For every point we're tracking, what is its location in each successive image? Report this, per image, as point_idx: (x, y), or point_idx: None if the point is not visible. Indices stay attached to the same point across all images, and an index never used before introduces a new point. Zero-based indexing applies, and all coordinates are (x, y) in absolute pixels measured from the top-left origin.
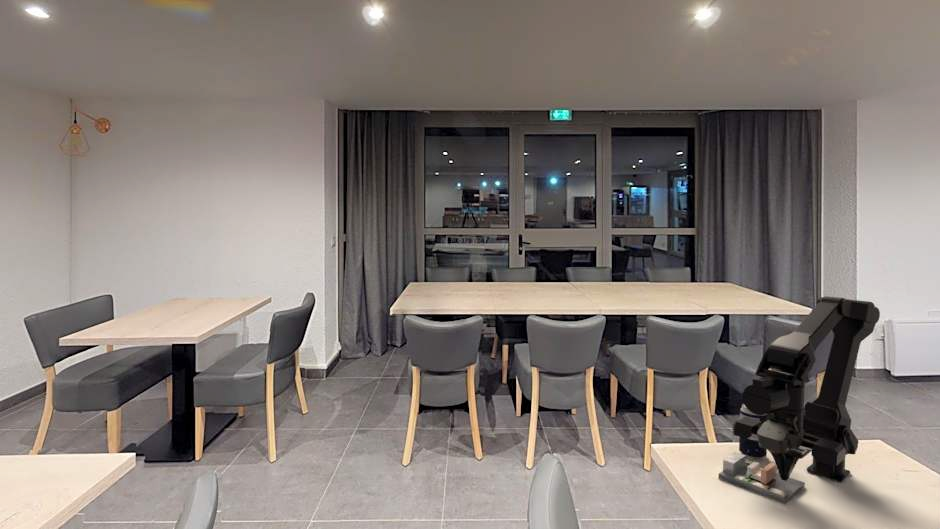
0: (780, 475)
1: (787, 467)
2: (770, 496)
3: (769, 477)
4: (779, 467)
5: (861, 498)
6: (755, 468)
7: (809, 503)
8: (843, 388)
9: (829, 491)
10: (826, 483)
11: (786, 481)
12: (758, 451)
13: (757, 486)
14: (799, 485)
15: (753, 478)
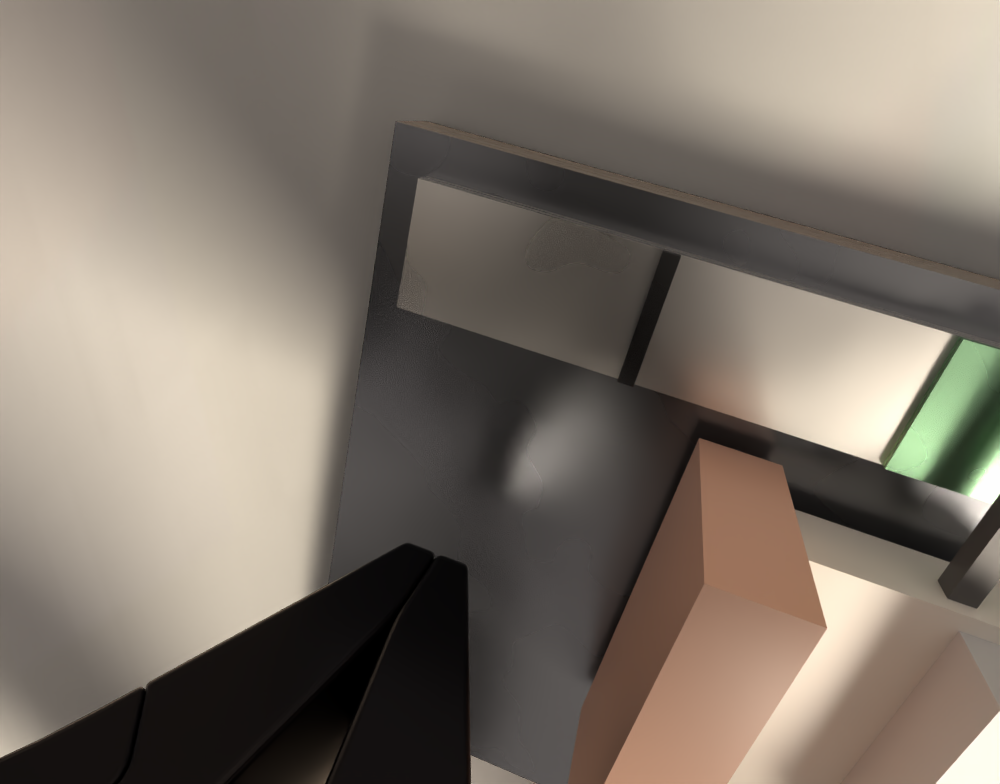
0: (460, 604)
1: (202, 711)
2: (625, 178)
3: (648, 591)
4: (409, 724)
5: (10, 628)
6: (892, 767)
7: (232, 332)
8: None
9: (179, 651)
10: None
11: None
12: None
13: (844, 295)
14: None
15: (901, 548)
